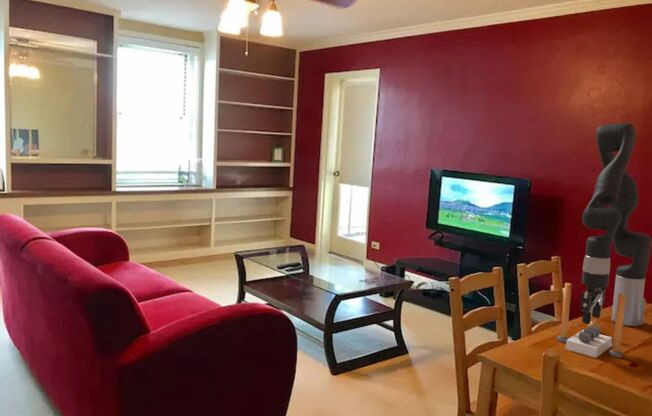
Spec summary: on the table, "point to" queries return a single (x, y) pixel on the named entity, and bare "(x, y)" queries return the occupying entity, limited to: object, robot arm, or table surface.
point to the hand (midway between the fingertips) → (591, 320)
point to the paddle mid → (592, 332)
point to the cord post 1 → (565, 313)
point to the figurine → (595, 323)
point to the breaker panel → (589, 345)
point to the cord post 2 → (618, 327)
